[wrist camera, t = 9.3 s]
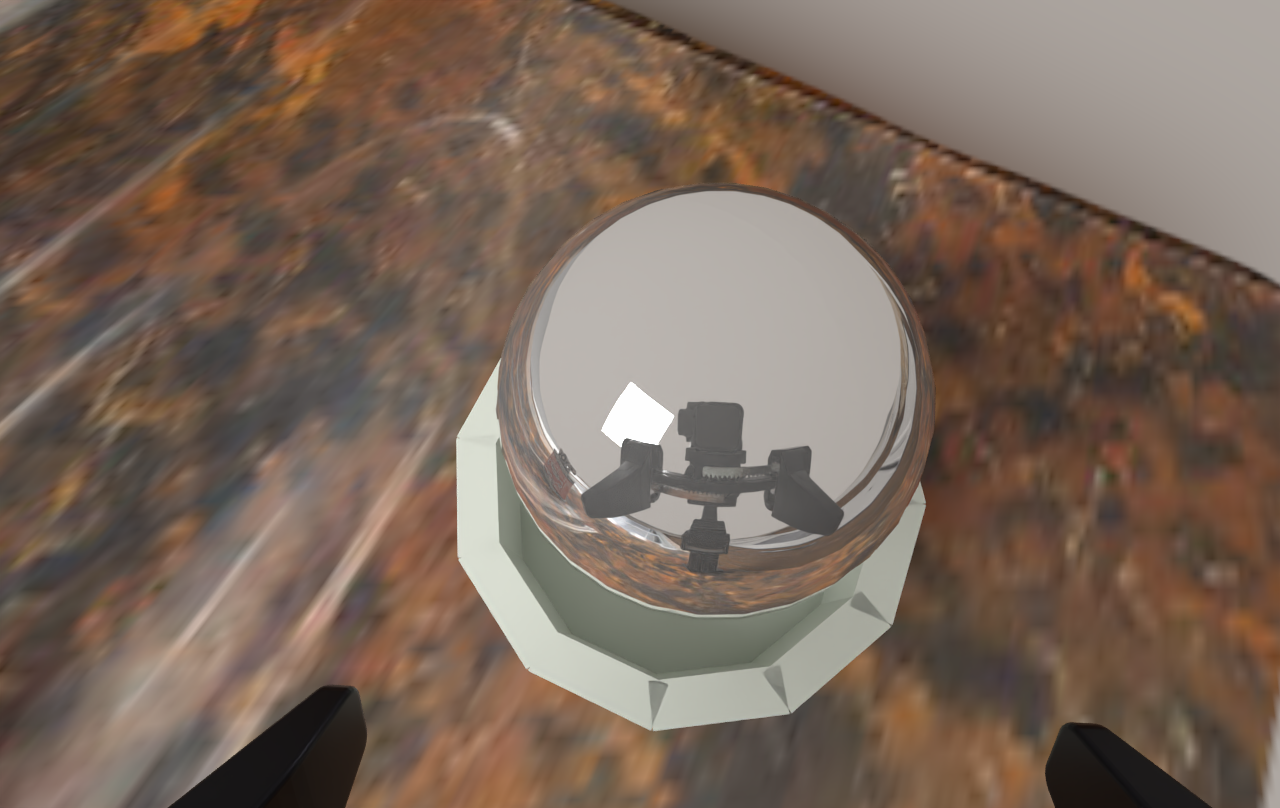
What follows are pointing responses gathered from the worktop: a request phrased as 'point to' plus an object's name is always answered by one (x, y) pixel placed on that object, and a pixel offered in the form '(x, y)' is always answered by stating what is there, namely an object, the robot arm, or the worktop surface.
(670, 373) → the light bulb
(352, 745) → the robot arm
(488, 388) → the bulb holder
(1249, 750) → the worktop surface
